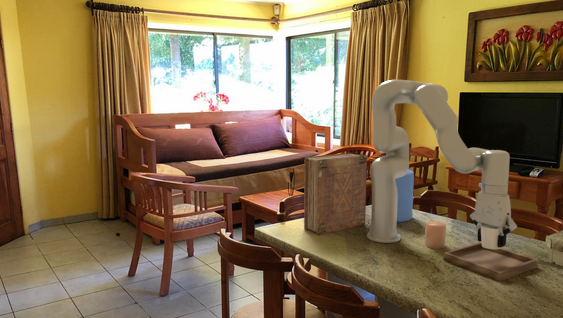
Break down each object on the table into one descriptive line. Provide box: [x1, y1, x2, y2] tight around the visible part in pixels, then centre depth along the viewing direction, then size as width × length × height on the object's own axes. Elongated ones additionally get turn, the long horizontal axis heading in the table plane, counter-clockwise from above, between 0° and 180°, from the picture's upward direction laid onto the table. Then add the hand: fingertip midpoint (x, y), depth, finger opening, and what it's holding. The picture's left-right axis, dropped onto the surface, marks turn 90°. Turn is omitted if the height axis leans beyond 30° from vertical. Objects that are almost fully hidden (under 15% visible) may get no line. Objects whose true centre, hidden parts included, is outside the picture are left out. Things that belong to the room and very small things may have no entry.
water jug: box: [395, 168, 415, 223], centre depth 194 cm, size 16×16×28 cm
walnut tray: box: [443, 241, 539, 282], centre depth 142 cm, size 20×20×2 cm
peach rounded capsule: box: [424, 220, 447, 250], centre depth 159 cm, size 7×7×8 cm
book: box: [303, 152, 368, 236], centre depth 180 cm, size 25×9×30 cm, turn 122°
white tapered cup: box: [481, 224, 503, 249], centre depth 141 cm, size 7×7×7 cm
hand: (491, 243), depth 141 cm, fingers closed on white tapered cup, 6 cm apart
